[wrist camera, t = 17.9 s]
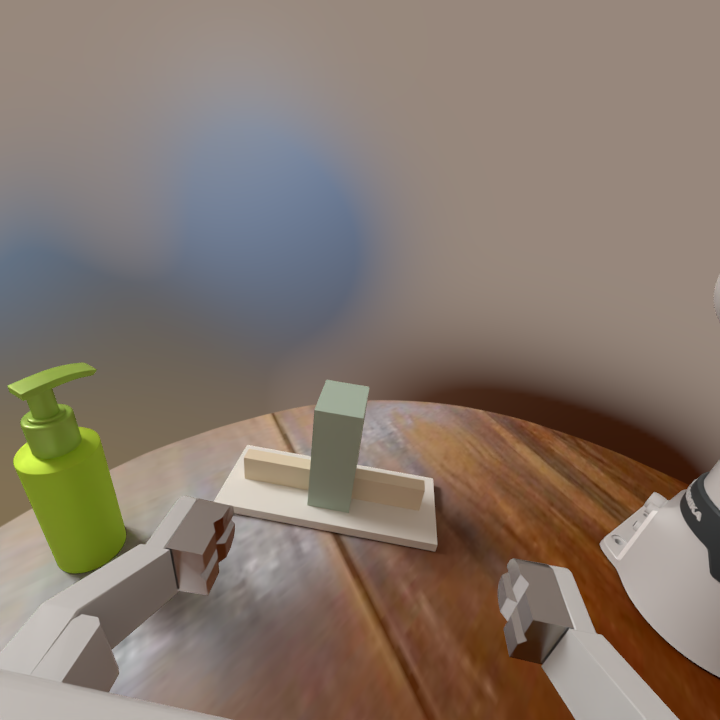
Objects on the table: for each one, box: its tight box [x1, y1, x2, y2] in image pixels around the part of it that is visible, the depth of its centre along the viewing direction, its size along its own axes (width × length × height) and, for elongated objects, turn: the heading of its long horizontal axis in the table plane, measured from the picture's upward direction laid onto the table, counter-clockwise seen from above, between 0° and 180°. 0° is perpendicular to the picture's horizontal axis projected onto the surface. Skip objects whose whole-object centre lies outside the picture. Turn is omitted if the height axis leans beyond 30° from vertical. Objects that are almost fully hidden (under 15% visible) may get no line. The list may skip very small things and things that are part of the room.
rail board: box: [214, 445, 438, 552], centre depth 46 cm, size 26×10×5 cm, turn 83°
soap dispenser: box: [7, 363, 126, 573], centre depth 33 cm, size 6×7×20 cm
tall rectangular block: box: [307, 380, 369, 513], centre depth 43 cm, size 5×6×14 cm
